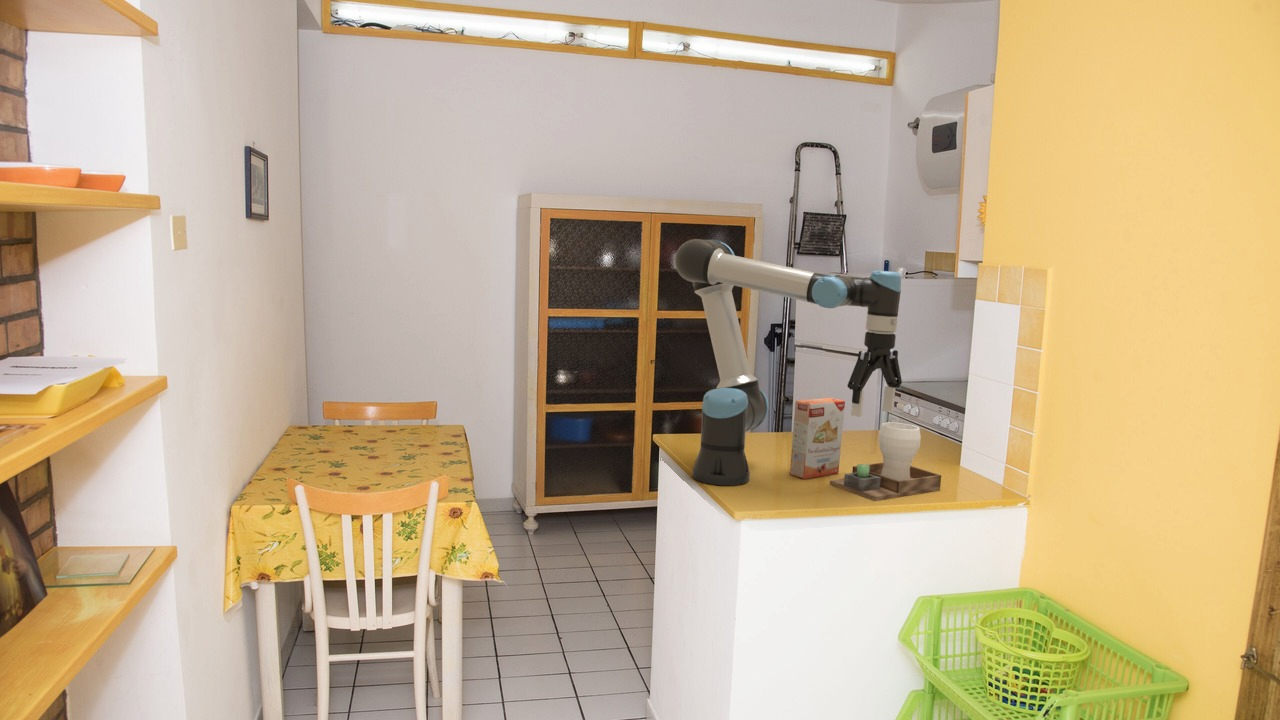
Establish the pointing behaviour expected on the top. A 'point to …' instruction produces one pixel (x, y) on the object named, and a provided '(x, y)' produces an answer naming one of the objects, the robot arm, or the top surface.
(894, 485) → the wooden tray
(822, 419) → the cracker box
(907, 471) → the cup
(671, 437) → the top surface
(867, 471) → the button
